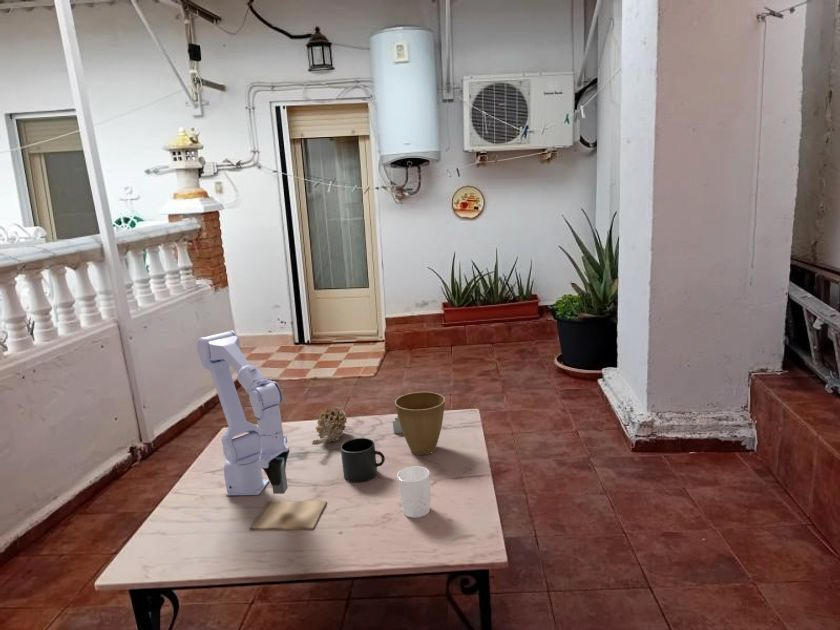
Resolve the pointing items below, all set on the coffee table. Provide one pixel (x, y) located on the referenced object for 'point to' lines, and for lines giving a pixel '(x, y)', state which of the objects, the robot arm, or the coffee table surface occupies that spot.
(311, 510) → the tan rectangular board
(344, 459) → the mug
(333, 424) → the pine cone
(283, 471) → the teal block
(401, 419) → the plant pot
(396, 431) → the lighter
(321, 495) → the coffee table surface
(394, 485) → the coffee table surface
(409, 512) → the white cup
